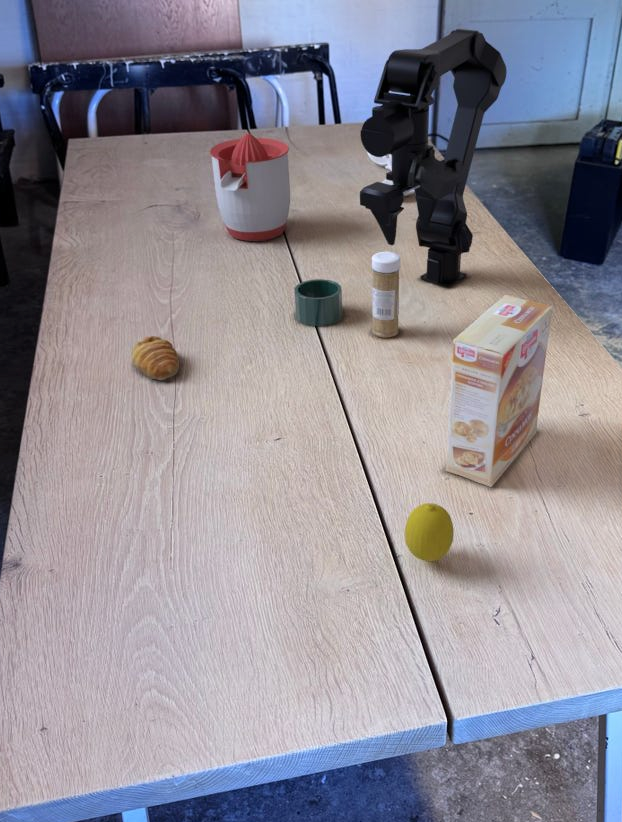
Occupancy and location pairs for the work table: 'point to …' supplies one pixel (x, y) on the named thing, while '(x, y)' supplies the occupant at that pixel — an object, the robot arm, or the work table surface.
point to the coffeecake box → (496, 388)
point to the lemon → (429, 532)
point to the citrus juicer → (252, 186)
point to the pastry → (155, 358)
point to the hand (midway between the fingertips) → (408, 236)
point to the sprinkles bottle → (385, 294)
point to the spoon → (387, 164)
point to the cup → (318, 302)
